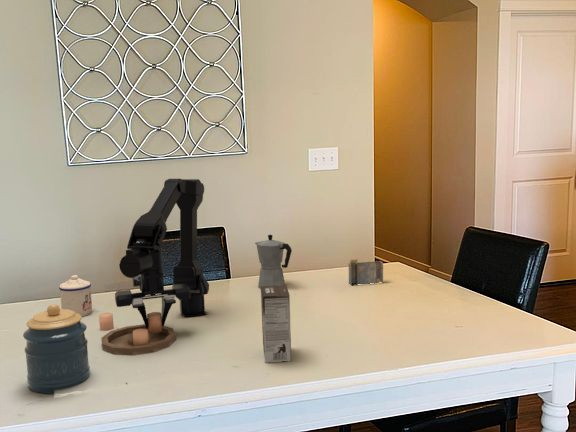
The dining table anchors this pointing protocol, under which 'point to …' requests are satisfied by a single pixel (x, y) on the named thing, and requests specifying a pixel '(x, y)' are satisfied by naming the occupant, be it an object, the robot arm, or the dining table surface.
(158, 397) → the dining table surface
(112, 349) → the groove tray
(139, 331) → the bead
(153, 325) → the bead
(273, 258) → the coffeepot
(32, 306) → the dining table surface
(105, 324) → the bead
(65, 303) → the white lidded jar
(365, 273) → the grey spool block
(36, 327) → the canister
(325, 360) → the dining table surface
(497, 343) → the dining table surface
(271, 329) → the coffee box
